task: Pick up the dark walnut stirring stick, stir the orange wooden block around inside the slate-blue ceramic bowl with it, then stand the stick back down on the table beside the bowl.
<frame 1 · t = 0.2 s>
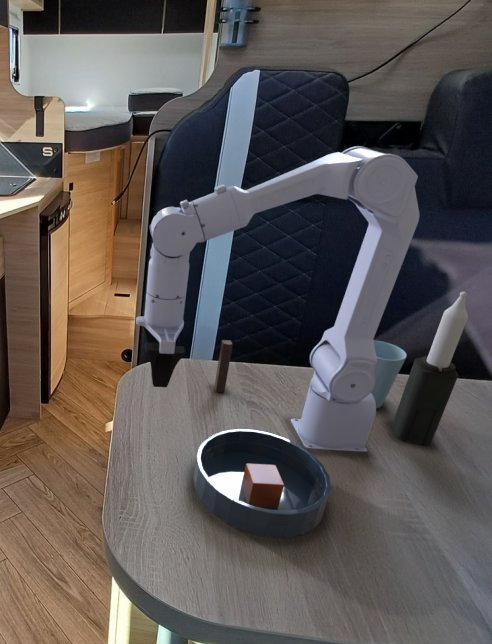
hand: (157, 373, 82), 10 cm above the table, tool pointing down, fingers open, 7 cm apart
bowl: (255, 492, 72), on the table
block: (259, 496, 71), point 1 cm above the table, touching bowl
cup: (364, 401, 94), on the table
stick: (219, 390, 96), on the table
candle: (410, 435, 85), on the table
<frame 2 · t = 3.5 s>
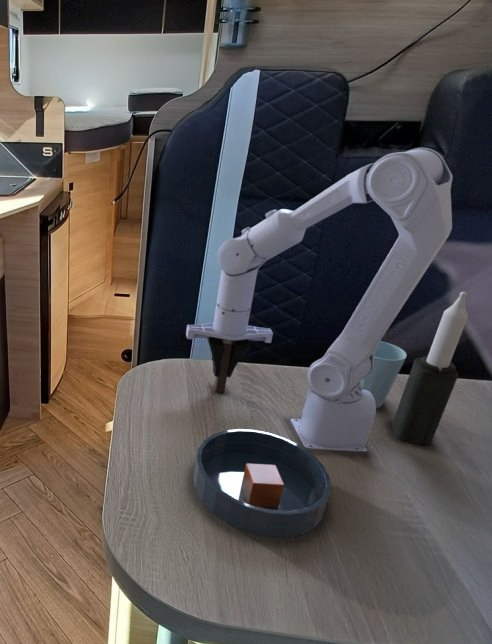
hand: (221, 374, 95), 3 cm above the table, tool pointing down, fingers closed on stick, 1 cm apart
stick: (219, 390, 96), on the table, touching gripper
everything else where it was.
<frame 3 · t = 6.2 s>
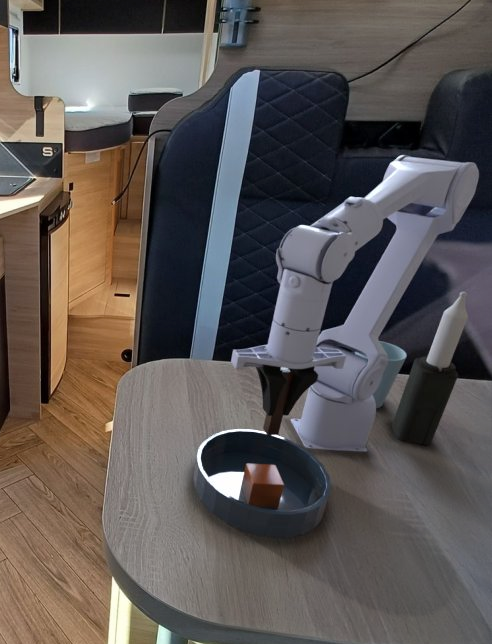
hand: (275, 411, 72), 10 cm above the table, tool pointing down, fingers closed on stick
stick: (270, 431, 73), point 7 cm above the table, touching gripper
everything else where it was.
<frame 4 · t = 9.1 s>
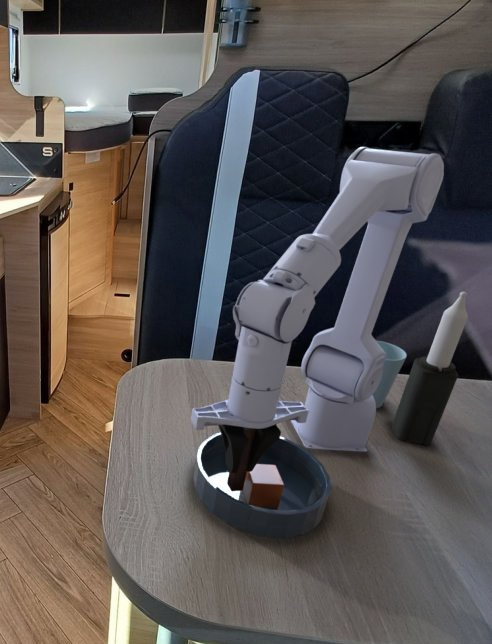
hand: (238, 467, 69), 5 cm above the table, tool pointing down, fingers closed on stick, 1 cm apart
stick: (234, 487, 70), point 2 cm above the table, touching gripper
everything else where it was.
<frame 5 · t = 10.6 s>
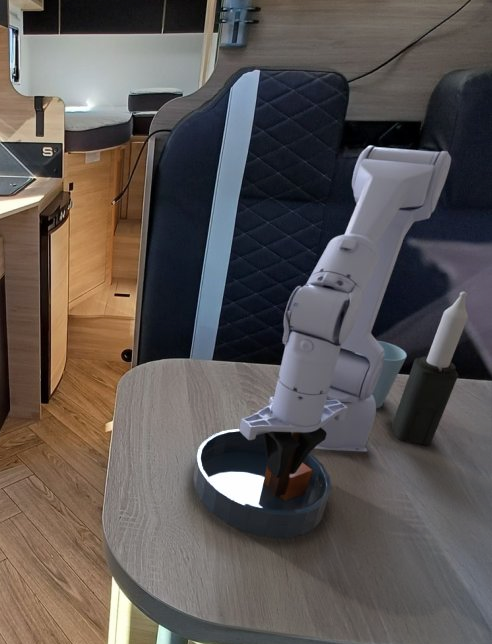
hand: (281, 470, 68), 5 cm above the table, tool pointing down, fingers closed on stick, 1 cm apart
block: (284, 487, 72), point 1 cm above the table, touching bowl
stick: (276, 491, 70), point 2 cm above the table, touching gripper
everything else where it was.
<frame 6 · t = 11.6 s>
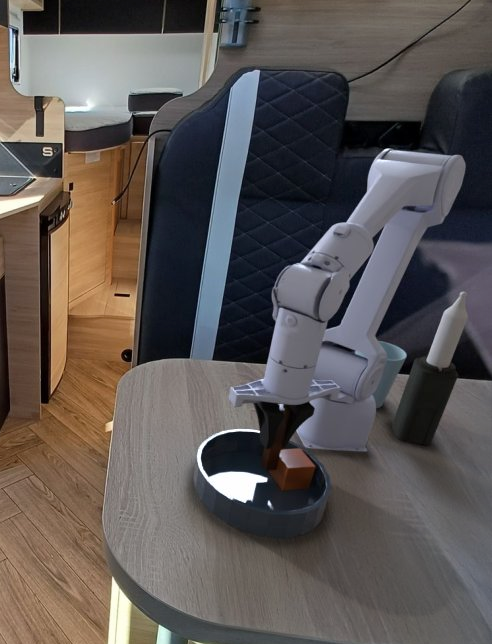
hand: (272, 443, 72), 6 cm above the table, tool pointing down, fingers closed on stick, 1 cm apart
block: (288, 480, 74), point 1 cm above the table, touching bowl, stick
stick: (268, 466, 74), point 2 cm above the table, touching block, gripper
everything else where it was.
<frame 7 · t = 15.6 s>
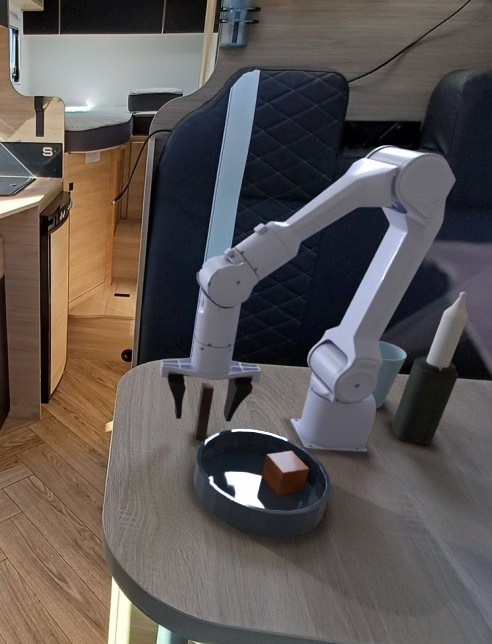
hand: (202, 416, 81), 4 cm above the table, tool pointing down, fingers open, 7 cm apart
block: (281, 483, 73), point 1 cm above the table, touching bowl
stick: (199, 439, 83), on the table
everything else where it was.
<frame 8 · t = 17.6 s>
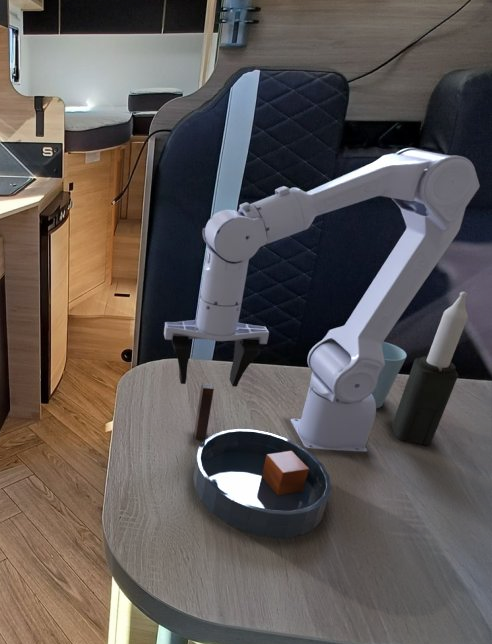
hand: (207, 381, 79), 10 cm above the table, tool pointing down, fingers open, 7 cm apart
nothing on the table moved.
at the end: block moved 4.8 cm from its start; block inside the target area in the bowl (4.1 cm from its centre), point 0.6 cm above the bowl's base; the gripper is holding nothing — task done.
